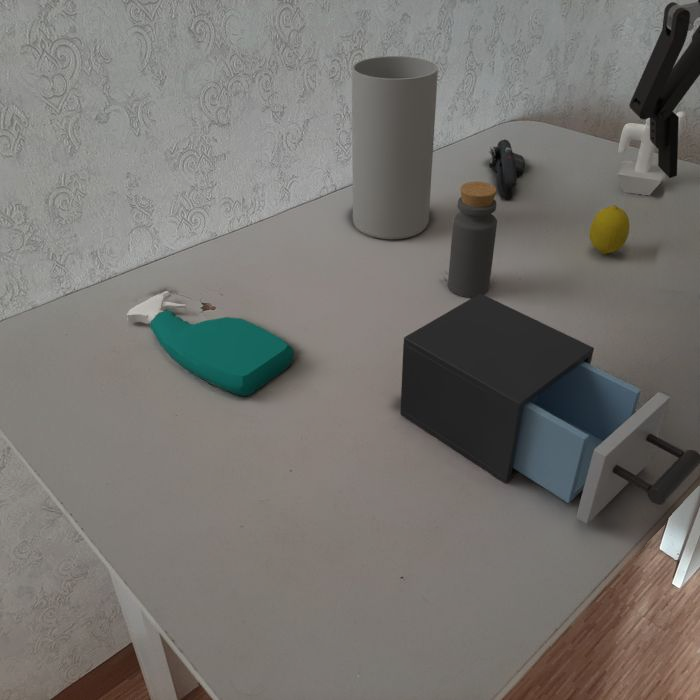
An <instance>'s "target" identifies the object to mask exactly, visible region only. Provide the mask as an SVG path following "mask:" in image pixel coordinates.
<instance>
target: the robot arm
mask: <svg viewBox="0 0 700 700" xmlns="http://www.w3.org/2000/svg"><path fill="white" fill-rule="evenodd" d="M699 18H700V0H697V1H696V2H689V3H686V4H678V3H677V2H674V1H671V2H669V3H667V5H666V6H665V8H664V12H663V20H662V28H661V32H660V34H659V36H658V38H657V40H656V43H655V45H654V47H653V49H652V52H651V54H650V55H649V58H648V61H647V64H646V66H645V68H644V70H643V72H642V74H641V77H640V79H639V81H638V83H637V86H636V88H635V91H634V92H633V94H632V97H631V100H630V102H629V108H630V110H631V111H632V112H633V113H635V115H636V116H637V117H638V118H639V119H640V120H645V121H646V120H647V119H648V118H650V140H651V142H652V143H653V144H654V145H655V148H656V149H657V150H658V151H657V152H658V153H657V155H658V156H657V165H658V166H659V167H660V168H661V169H662V171H663V172H664V174H665V175H666V176H667V177H668V178H669V179H671V178H674V177H675V178H676V177H677V176H678V158H679V155H678V154H679V140H678V123H679V117H678V116H677V115H676V114H677V113H675V112H674V110H676V108H677V107H678V105H679V104H680V102H681V101H682V100H683V98H684V97H685V96H686V94H687V93H688V92H689V90H690V88H692V86H693V84H695V82H696V81H697V79H698V78H699V76H700V24H699V26H698V27H697V28H696V30H695V31H694V33H692V36H691V41H690V43H689V44H688V46H687V47H686V49H685V50H684V52H683V53H682V55H681V56H680V54H681V52H682V49H683V47H684V46H685V42H686V40H687V36H688V32H689V31H692V30H693V29H694V26H695V25H694V23H695V21H697V19H699ZM679 56H680V58H679ZM678 58H679V59H678Z"/></svg>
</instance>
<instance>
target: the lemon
mask: <svg viewBox="0 0 700 700" xmlns="http://www.w3.org/2000/svg"><path fill="white" fill-rule="evenodd" d="M629 219H630V218H629V216H628V214H627V213H626V211H625V210H623V209H622V208H620V207H618V205H616V204H613V205H611V206H606V207H604V208H602V209H600V210H599V211H598V212H597V213H596V214H595V215H594V217H593V219H592V221H591V224H590V227H589V240H590V243H591V245H592V246H593V247H594V248H595V250H597V251H598V252H600V253H601V254H602V255H607V254H609V253H610V254H611V253H614V252H617V251H619V250H620V249H621V248H622V247H623V246H624V245H625V244H626V242H627V239H628V237H629V234H630V220H629Z"/></svg>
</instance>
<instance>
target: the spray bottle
mask: <svg viewBox="0 0 700 700" xmlns="http://www.w3.org/2000/svg"><path fill="white" fill-rule="evenodd" d="M171 297H172V296H171V293H170V291H169V290H165V291H163V292H161V293H157V294H155V295H154V296H151V297H150V298H148V299H146V300H144V301H143V302H141V303H138V304H137V305H135V306H132V307H131V308H130V309H129V311H128V312H127V313H126V319H127V323H128V324H130V323H143V324H146V325H149V326H150V330H151V331H152V332H153V335H154V336H155V337H156V339H157V341H158V342H159V344H160V346H161V347H162V348H163V349H164V351H165V352H166V353H167V355H168V356H169V357H170V358H172V360H174V361H175V363H177V364H178V365H180V366H181V367H183V368H184V369H185V370H187V371H188V372H190V373H192V374H193V375H194V376H196V377H197V378H200V379H202V380H204V381H206V382H208V383H209V384H212V385H214V386H215V387H218V388H220V389H221V390H224V391H227V392H229V393H232V394H234V395H237V396H242V397H248V396H250V395H251V394H253V393H254V392H256V391H257V390H259V389H260V388H261V387H263V386H264V385H266V384H267V383H269V382H270V381H271V380H273V379H274V378H276V377H277V376H278V375H280V374H281V373H283V372H284V371H287V369H288V368H289V366H290V365H291V364H292V362H293V361H294V354H295V352H294V348H293V347H292V346H291V345H290V344H289V343H287V342H286V341H285V340H283V339H282V338H281V337H279V336H277V335H275V334H274V333H272V332H270V331H268V330H267V329H266V328H263V327H261V326H260V325H257V324H255V323H252V322H250V321H247V320H245V319H243V318H238V317H230V316H229V317H227V316H225V317H219V318H213V319H206V320H203V321H200V322H197V323H189V321H187V320H183V318H181V317H180V316H177V315H176V313H175V312H174V311H173V310H171V309H187V304H184V303H177V302H172V301H167V300H168V299H170V298H171Z"/></svg>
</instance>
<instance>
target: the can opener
mask: <svg viewBox="0 0 700 700" xmlns="http://www.w3.org/2000/svg"><path fill="white" fill-rule="evenodd" d="M512 148H513V147H512V145H511V143H510V141H509V140H508V139H501V140H499V142H497V146H490V149H489V151H488V153H489V154H490V156H491V158H490V162H489V164H488V167H489V168H490V169H492V170H493V171H496V180H497V188H498V192H499V195H500V197H501V198H502V199H503V200H511V199H512V198H513V188H515V187H516V186H517V180H518V179H517V176H523V174H524V172H525V168H526V162H525V158H524V157H523V155H521V154H518V153H516V152H514V151H513V149H512Z"/></svg>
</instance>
